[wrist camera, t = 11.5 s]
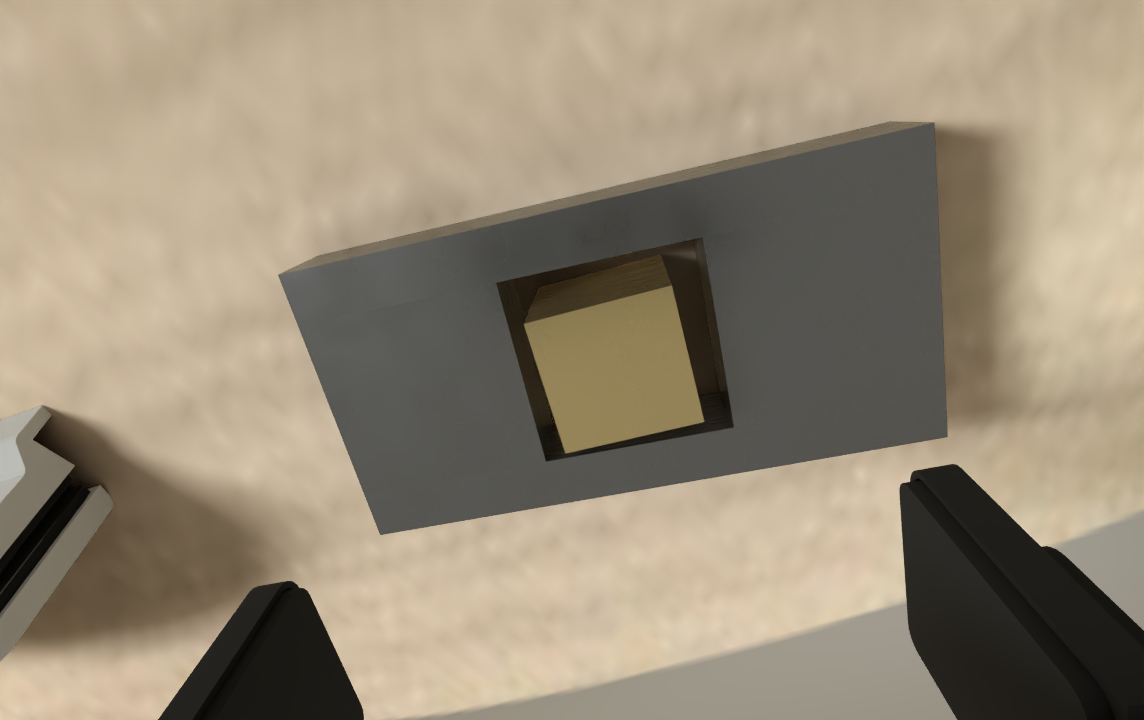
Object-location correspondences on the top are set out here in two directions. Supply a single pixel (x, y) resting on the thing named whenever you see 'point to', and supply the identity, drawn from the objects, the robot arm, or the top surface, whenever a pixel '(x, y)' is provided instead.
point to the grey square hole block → (734, 311)
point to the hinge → (38, 522)
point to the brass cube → (613, 355)
